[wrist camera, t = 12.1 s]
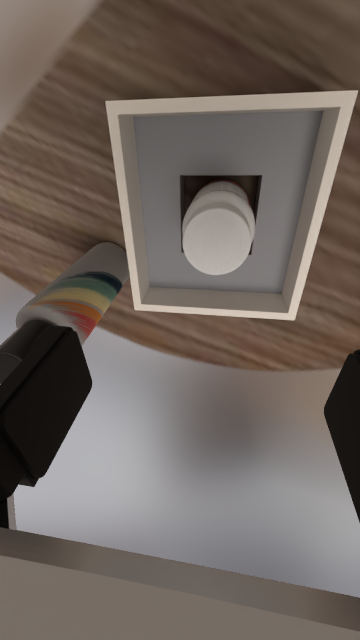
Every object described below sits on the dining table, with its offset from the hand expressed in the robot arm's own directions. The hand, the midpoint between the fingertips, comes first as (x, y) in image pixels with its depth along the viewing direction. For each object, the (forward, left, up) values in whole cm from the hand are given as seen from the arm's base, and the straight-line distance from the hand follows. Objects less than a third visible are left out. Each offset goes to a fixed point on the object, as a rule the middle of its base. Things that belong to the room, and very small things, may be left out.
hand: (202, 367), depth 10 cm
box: (0, 0, -24) cm, 24 cm away
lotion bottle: (+14, +7, -24) cm, 28 cm away
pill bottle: (0, 0, -24) cm, 24 cm away
